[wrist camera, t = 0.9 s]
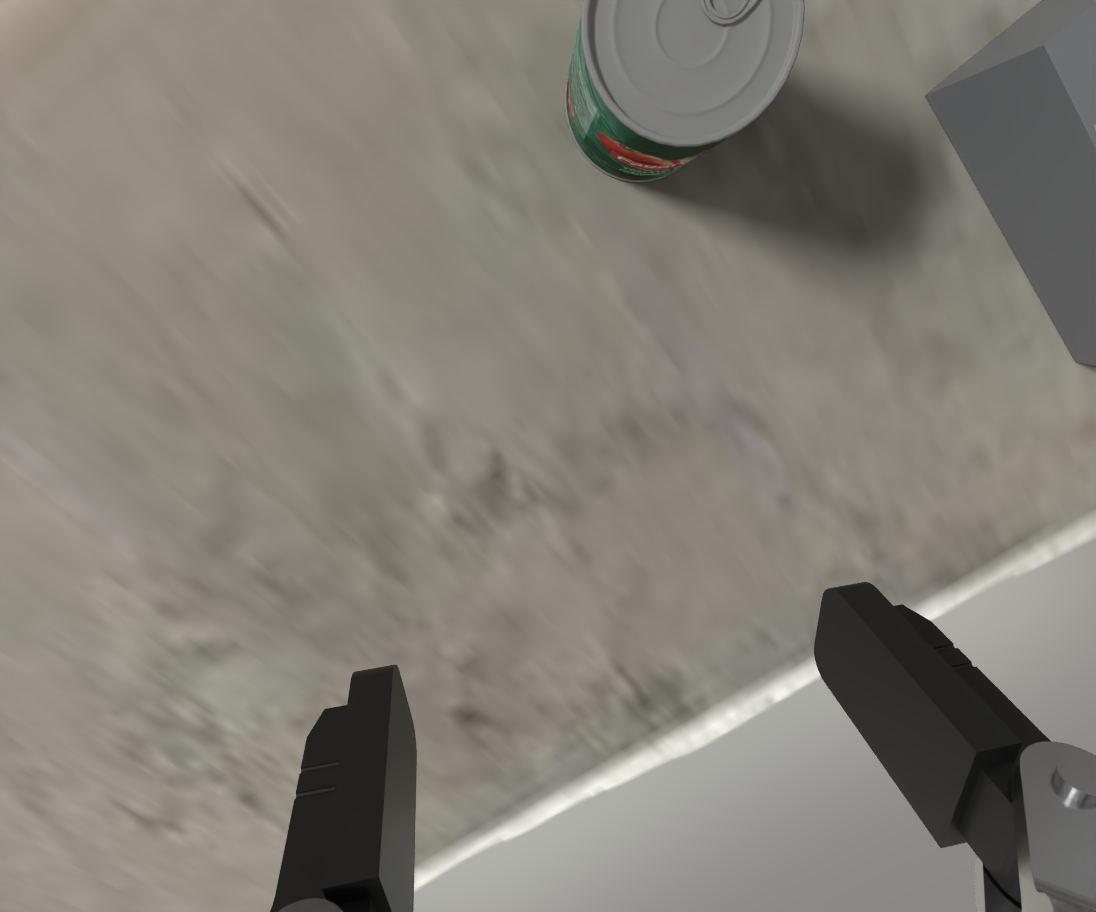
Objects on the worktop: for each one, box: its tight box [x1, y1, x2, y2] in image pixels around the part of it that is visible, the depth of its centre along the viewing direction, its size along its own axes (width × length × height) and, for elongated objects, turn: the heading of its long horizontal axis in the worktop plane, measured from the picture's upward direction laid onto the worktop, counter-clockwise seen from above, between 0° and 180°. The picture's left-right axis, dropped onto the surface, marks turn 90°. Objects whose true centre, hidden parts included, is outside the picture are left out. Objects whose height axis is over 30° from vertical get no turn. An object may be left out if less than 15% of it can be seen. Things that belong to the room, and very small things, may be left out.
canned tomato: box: [565, 0, 805, 182], centre depth 28 cm, size 8×8×11 cm
